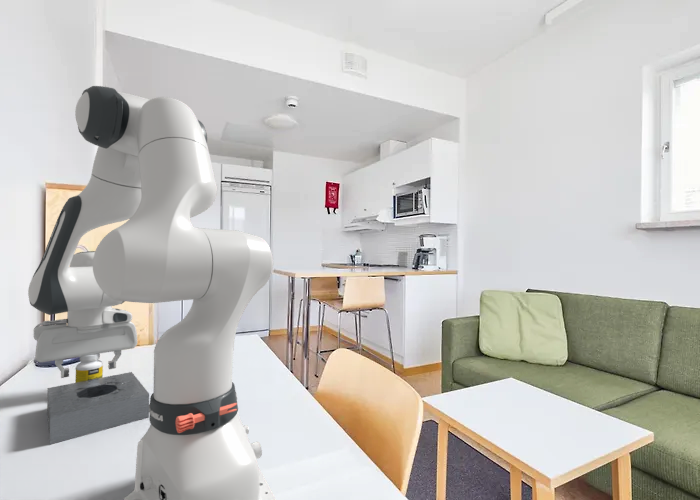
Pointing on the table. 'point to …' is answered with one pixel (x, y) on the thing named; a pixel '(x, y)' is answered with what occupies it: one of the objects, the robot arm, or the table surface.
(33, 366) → the table surface
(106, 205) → the robot arm
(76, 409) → the block
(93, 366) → the supplement bottle
